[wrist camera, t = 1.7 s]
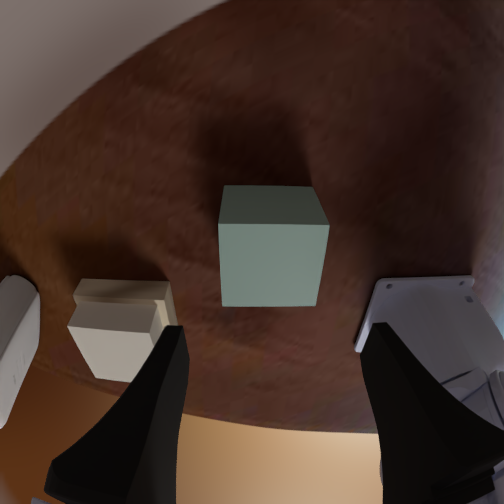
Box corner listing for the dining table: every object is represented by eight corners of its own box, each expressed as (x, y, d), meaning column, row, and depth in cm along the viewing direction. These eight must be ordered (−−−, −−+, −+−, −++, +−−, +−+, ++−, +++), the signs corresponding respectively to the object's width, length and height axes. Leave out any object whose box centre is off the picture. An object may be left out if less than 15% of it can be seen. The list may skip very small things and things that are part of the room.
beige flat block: (171, 276, 22) (164, 300, 20) (183, 340, 26) (179, 363, 24) (85, 273, 22) (72, 295, 20) (108, 334, 26) (100, 356, 24)
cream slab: (157, 305, 20) (149, 333, 18) (172, 359, 24) (167, 385, 22) (80, 300, 20) (67, 326, 18) (104, 353, 24) (95, 377, 22)
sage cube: (312, 186, 18) (329, 225, 14) (303, 257, 21) (315, 305, 17) (224, 184, 18) (218, 223, 14) (226, 257, 21) (222, 306, 17)
